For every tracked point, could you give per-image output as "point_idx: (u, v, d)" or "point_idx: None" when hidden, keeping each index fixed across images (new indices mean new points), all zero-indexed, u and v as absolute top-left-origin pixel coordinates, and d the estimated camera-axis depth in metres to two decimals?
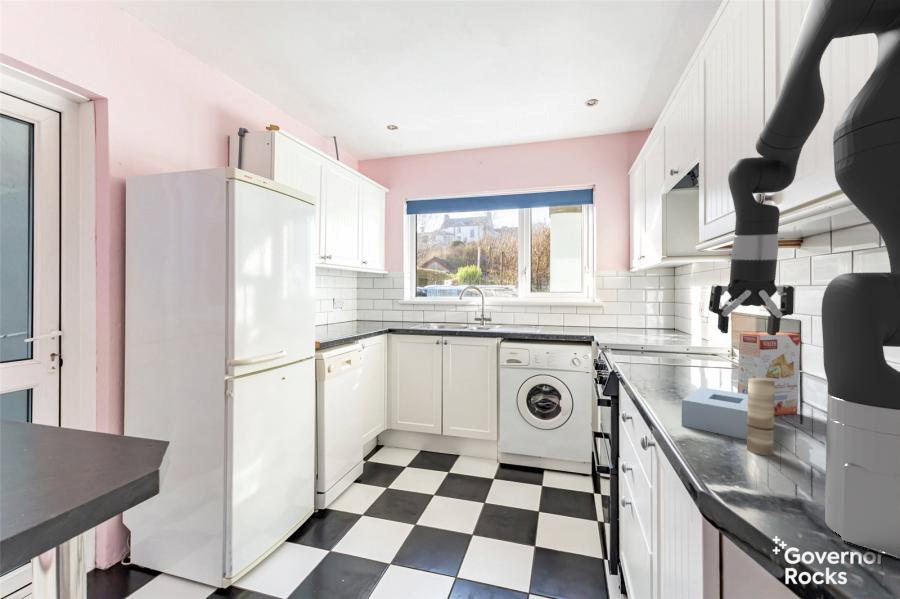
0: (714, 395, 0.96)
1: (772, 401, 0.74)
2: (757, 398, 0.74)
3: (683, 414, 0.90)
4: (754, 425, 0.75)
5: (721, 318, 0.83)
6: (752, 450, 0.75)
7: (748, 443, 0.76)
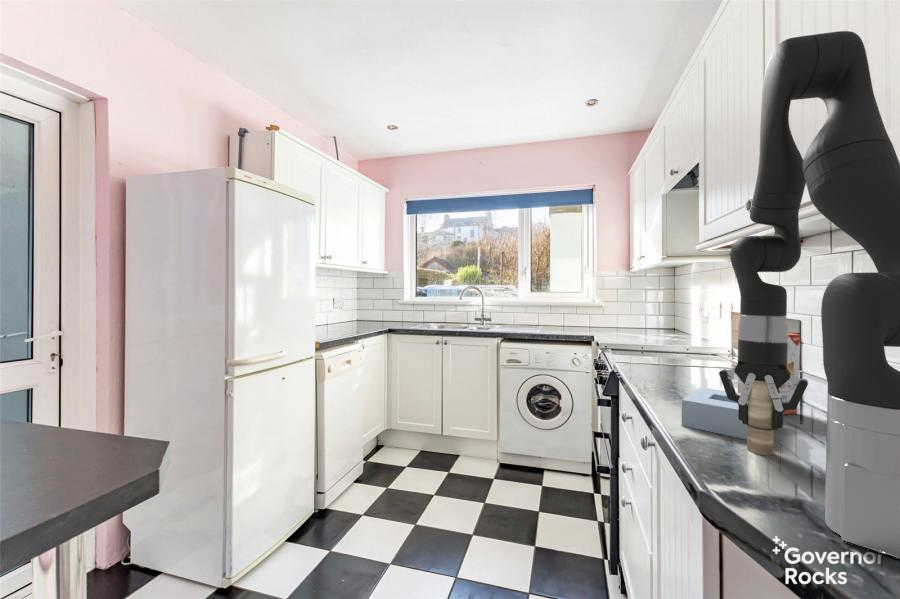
0: (714, 395, 0.96)
1: (772, 401, 0.74)
2: (757, 398, 0.74)
3: (683, 414, 0.90)
4: (754, 425, 0.75)
5: (739, 407, 0.77)
6: (752, 450, 0.75)
7: (748, 443, 0.76)
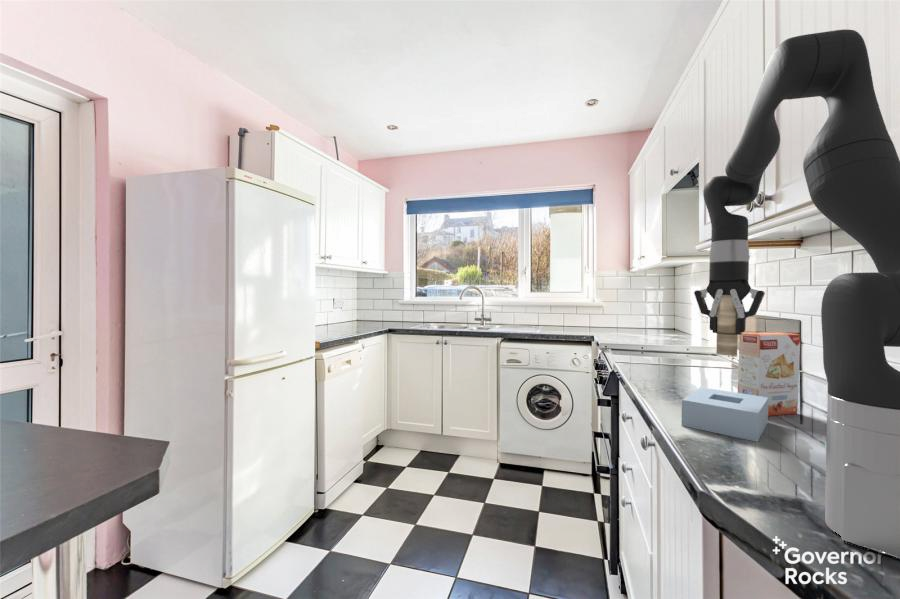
0: (714, 395, 0.96)
1: (736, 311, 0.90)
2: (724, 309, 0.91)
3: (683, 414, 0.90)
4: (721, 331, 0.91)
5: (710, 319, 0.93)
6: (720, 352, 0.91)
7: (717, 347, 0.92)
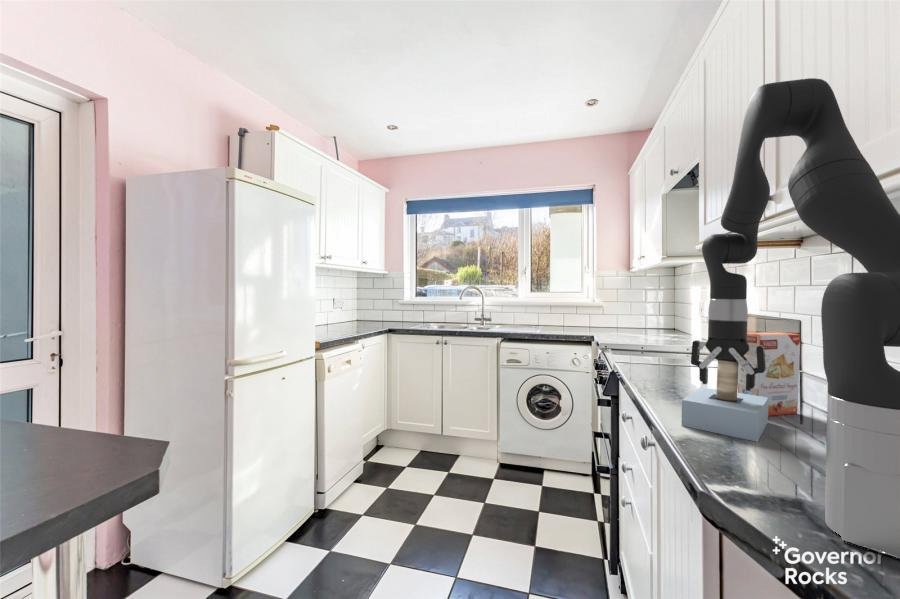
0: (714, 395, 0.96)
1: (736, 378, 0.90)
2: (724, 375, 0.91)
3: (683, 414, 0.90)
4: (721, 397, 0.91)
5: (700, 370, 0.95)
6: None
7: None
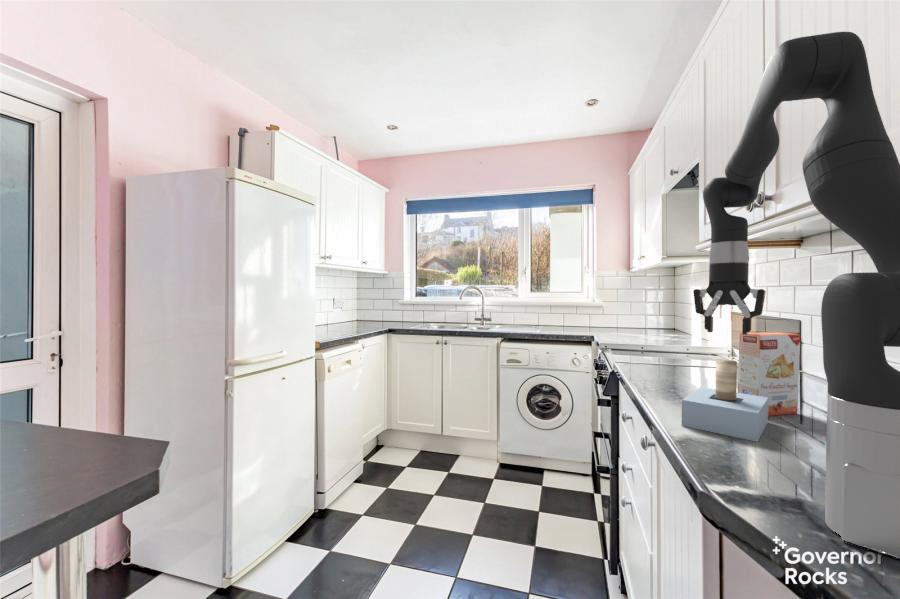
0: (714, 395, 0.96)
1: (734, 377, 0.90)
2: (722, 375, 0.91)
3: (683, 414, 0.90)
4: (720, 397, 0.91)
5: (705, 318, 0.94)
6: None
7: None
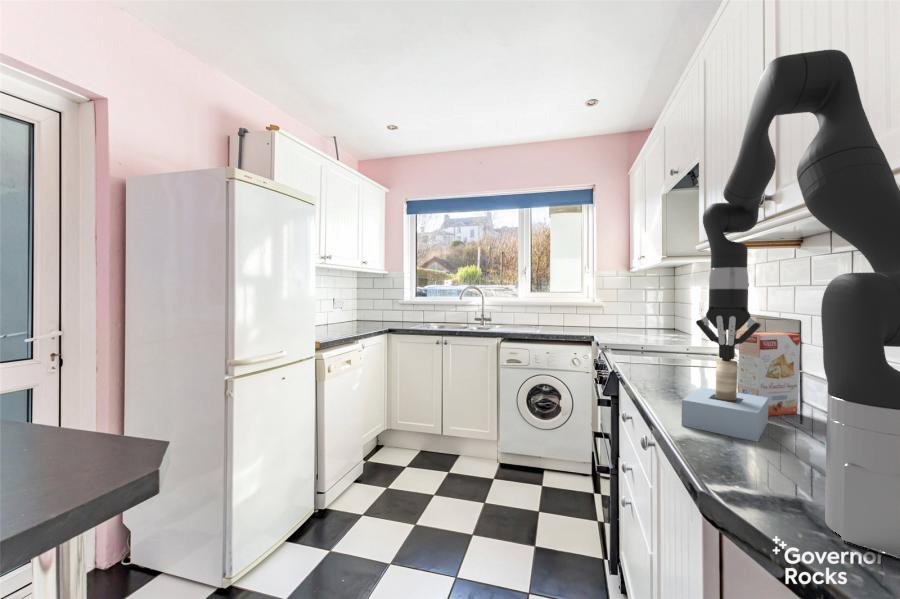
0: (714, 395, 0.96)
1: (735, 378, 0.90)
2: (723, 375, 0.91)
3: (683, 414, 0.90)
4: (720, 398, 0.91)
5: (719, 346, 0.92)
6: None
7: None
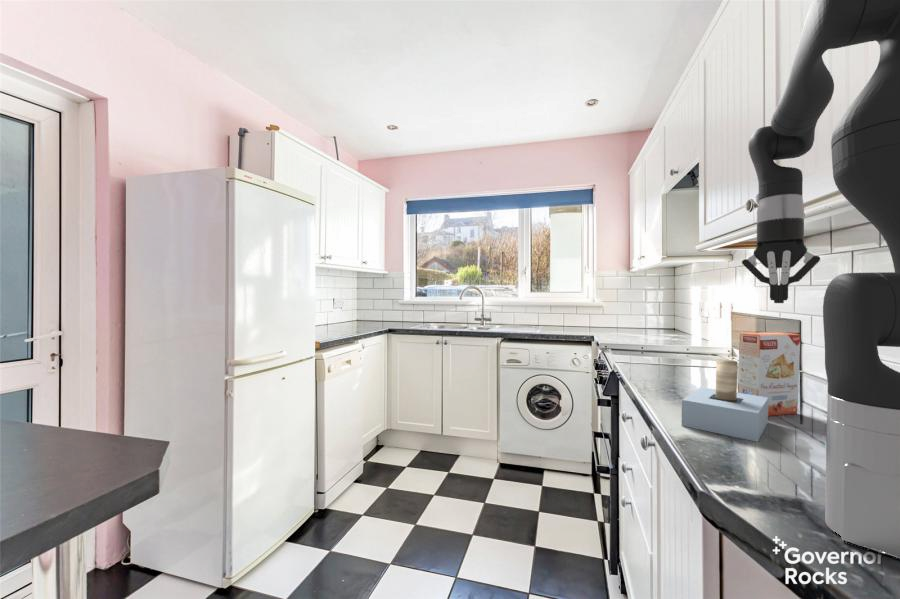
0: (714, 395, 0.96)
1: (735, 378, 0.90)
2: (723, 375, 0.91)
3: (683, 414, 0.90)
4: (720, 397, 0.91)
5: (771, 287, 0.81)
6: None
7: None
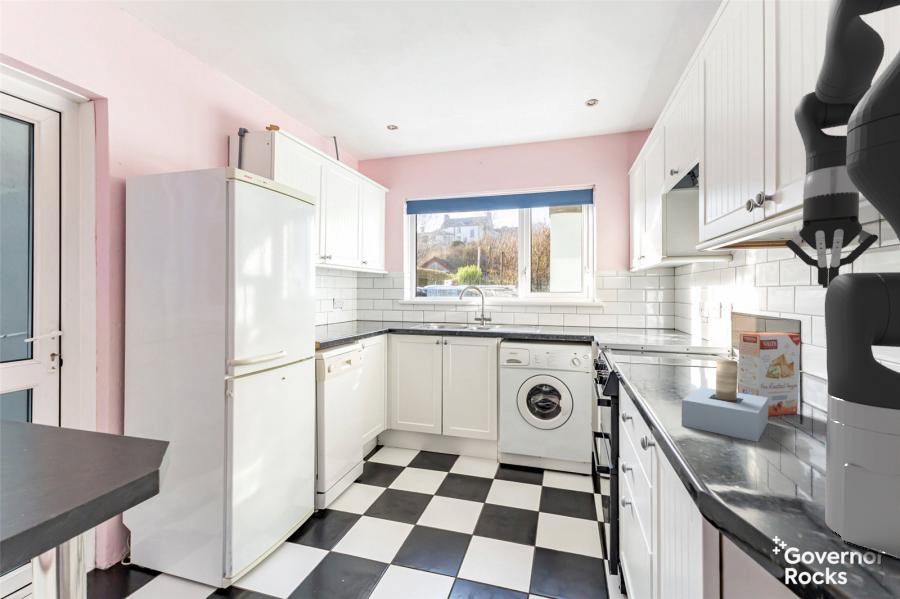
0: (714, 395, 0.96)
1: (735, 377, 0.90)
2: (723, 375, 0.91)
3: (683, 414, 0.90)
4: (720, 397, 0.91)
5: (819, 270, 0.74)
6: None
7: None
